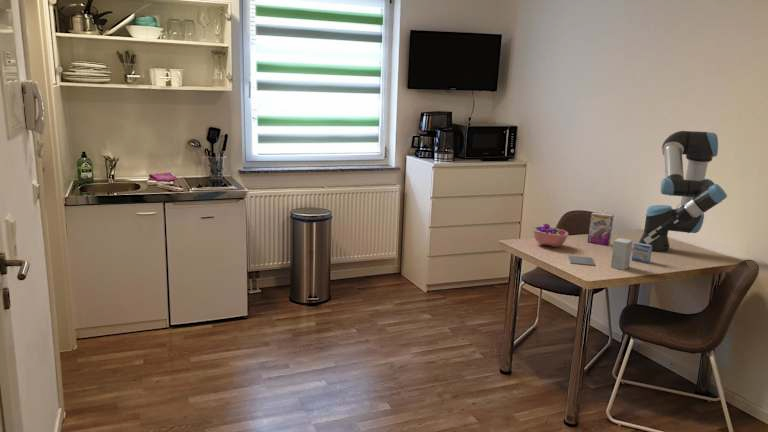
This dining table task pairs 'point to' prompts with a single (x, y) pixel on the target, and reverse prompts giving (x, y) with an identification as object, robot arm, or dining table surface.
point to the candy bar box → (600, 228)
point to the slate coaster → (581, 260)
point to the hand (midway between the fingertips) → (647, 239)
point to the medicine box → (641, 252)
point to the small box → (621, 253)
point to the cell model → (549, 235)
